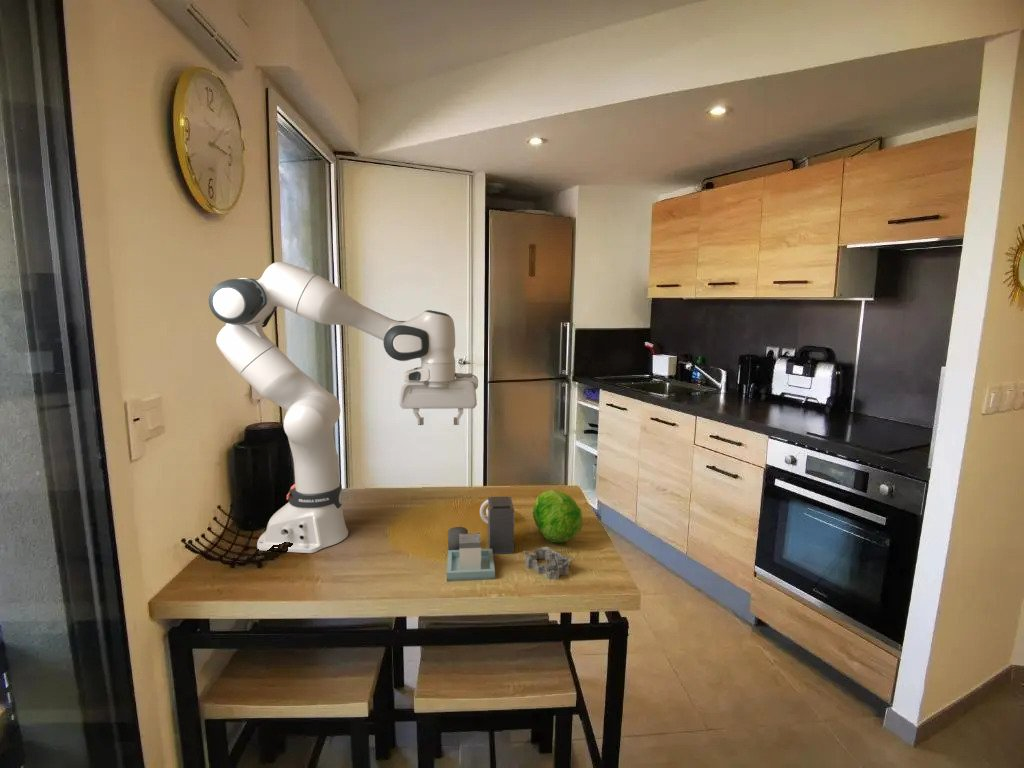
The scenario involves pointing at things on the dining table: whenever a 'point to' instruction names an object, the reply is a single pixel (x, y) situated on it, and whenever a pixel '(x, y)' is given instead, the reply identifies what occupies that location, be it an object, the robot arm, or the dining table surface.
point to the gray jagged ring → (548, 562)
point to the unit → (500, 525)
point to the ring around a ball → (482, 511)
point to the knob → (455, 537)
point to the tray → (480, 574)
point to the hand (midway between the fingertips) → (438, 424)
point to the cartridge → (469, 551)
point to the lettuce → (557, 516)
